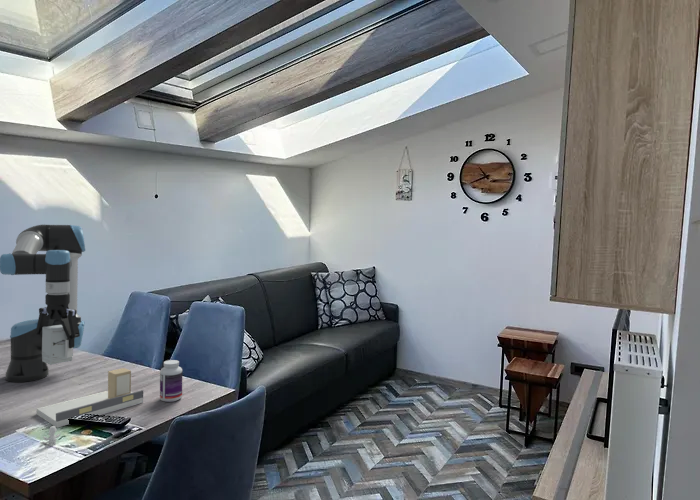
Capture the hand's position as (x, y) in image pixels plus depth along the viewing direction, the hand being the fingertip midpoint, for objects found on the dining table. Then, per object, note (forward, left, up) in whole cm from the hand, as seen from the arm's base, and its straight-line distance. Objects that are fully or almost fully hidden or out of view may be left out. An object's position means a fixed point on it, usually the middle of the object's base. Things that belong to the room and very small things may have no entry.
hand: (57, 355), depth 178 cm
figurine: (+30, -14, -19) cm, 38 cm away
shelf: (+11, +7, -18) cm, 23 cm away
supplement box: (0, 0, -2) cm, 2 cm away
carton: (+13, +16, -16) cm, 26 cm away
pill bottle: (+23, +31, -19) cm, 43 cm away
